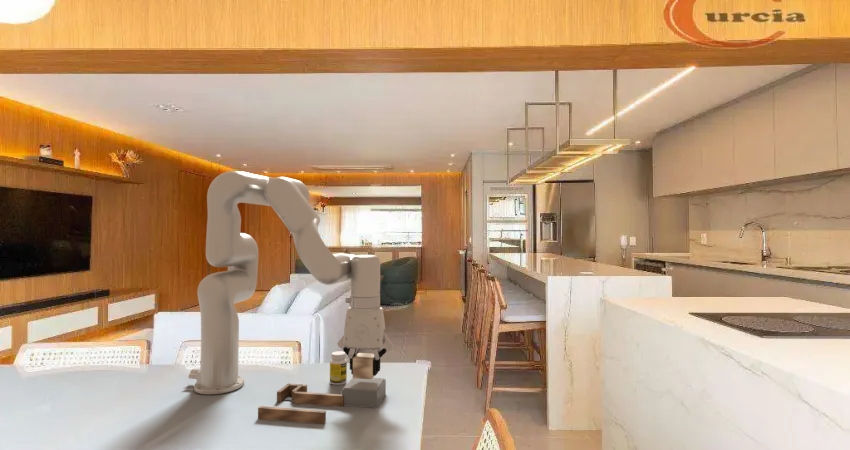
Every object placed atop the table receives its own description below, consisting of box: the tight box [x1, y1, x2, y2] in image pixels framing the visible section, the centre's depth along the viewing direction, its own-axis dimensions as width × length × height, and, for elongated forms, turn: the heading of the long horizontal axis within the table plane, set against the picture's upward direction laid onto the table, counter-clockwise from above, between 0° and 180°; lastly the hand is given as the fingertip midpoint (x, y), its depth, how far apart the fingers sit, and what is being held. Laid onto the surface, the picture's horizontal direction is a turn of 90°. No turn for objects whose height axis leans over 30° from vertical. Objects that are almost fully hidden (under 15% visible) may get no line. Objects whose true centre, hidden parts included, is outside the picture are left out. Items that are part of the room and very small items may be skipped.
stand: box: [341, 377, 387, 409], centre depth 113 cm, size 9×9×4 cm
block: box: [352, 352, 375, 379], centre depth 113 cm, size 5×5×5 cm
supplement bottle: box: [329, 350, 348, 386], centre depth 125 cm, size 5×5×8 cm
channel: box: [257, 383, 345, 425], centre depth 107 cm, size 18×16×2 cm
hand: (365, 372), depth 113 cm, fingers closed on block, 5 cm apart
